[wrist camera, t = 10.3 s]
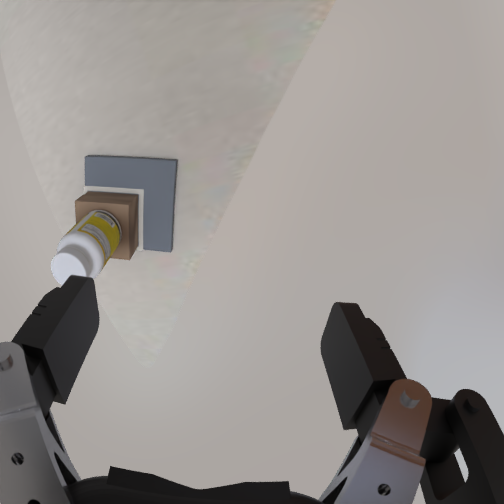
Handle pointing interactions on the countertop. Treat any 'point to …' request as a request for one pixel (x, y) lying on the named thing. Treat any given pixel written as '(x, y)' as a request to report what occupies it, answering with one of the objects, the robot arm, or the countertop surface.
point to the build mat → (139, 193)
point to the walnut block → (121, 209)
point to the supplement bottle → (87, 246)
